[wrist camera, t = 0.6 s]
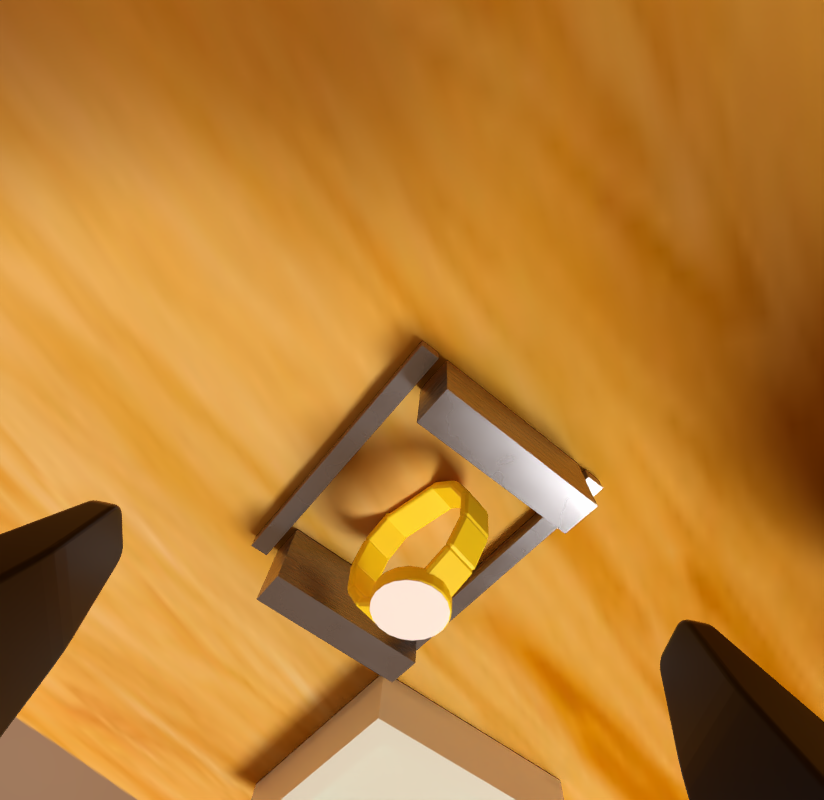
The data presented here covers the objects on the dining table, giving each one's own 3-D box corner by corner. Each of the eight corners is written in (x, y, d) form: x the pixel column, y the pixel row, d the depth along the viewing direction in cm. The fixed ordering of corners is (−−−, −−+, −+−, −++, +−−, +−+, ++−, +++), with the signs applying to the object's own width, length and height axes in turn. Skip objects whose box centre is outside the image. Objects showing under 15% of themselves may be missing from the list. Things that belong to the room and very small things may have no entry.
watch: (391, 556, 24) (367, 670, 19) (351, 516, 24) (314, 624, 18) (498, 494, 22) (504, 604, 17) (458, 448, 22) (451, 548, 16)
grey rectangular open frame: (598, 480, 22) (620, 524, 19) (416, 640, 26) (413, 695, 23) (422, 340, 20) (419, 366, 17) (256, 537, 24) (231, 583, 21)
